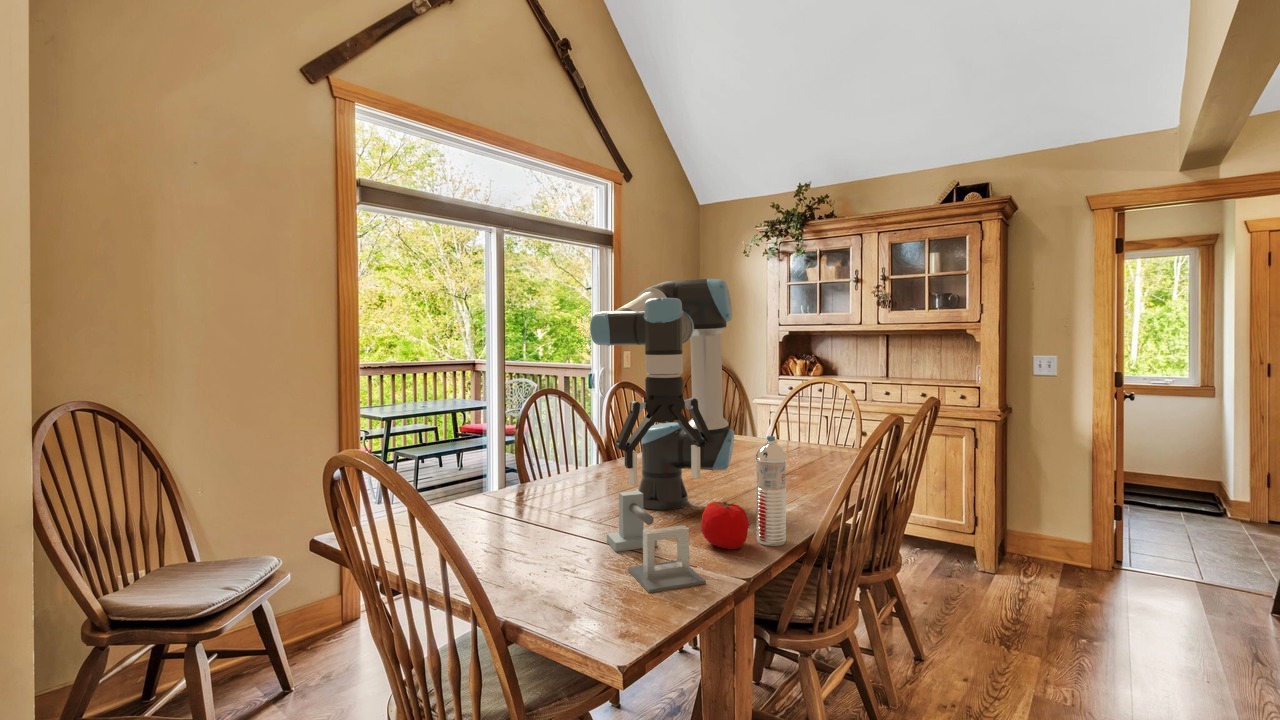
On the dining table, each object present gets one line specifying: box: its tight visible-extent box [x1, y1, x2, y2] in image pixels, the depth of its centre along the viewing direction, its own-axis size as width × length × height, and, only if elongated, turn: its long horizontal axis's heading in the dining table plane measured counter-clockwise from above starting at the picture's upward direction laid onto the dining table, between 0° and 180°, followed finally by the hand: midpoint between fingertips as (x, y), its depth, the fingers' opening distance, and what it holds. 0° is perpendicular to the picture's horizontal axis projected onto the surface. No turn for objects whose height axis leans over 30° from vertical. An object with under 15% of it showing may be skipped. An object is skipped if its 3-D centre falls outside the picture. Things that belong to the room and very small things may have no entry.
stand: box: [606, 490, 658, 552], centre depth 137 cm, size 16×10×12 cm, turn 20°
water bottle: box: [755, 435, 787, 547], centre depth 141 cm, size 7×7×25 cm
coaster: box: [627, 559, 707, 594], centre depth 121 cm, size 12×12×1 cm
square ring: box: [642, 525, 690, 579], centre depth 121 cm, size 9×2×9 cm, turn 110°
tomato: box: [700, 501, 750, 550], centre depth 139 cm, size 11×13×10 cm
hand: (665, 481), depth 121 cm, fingers open, 13 cm apart
